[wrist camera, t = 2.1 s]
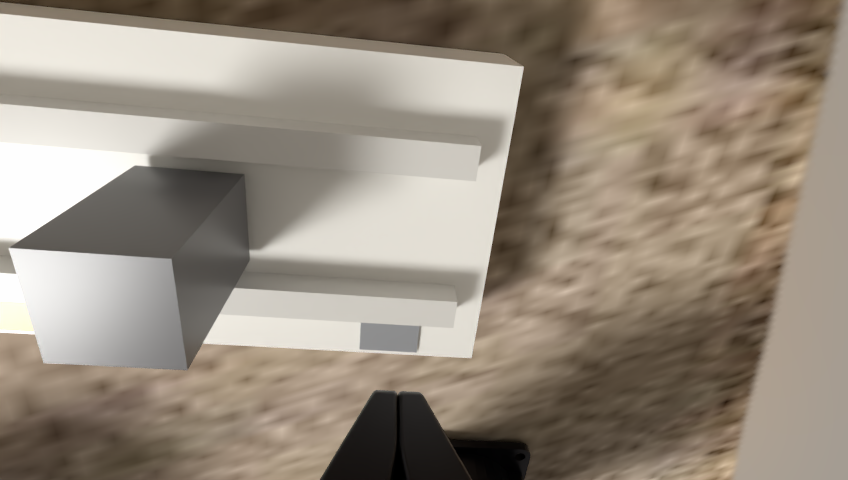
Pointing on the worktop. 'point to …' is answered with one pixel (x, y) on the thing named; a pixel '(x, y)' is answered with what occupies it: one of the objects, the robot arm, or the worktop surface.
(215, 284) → the switch knob
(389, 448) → the robot arm
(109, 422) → the worktop surface
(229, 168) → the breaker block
